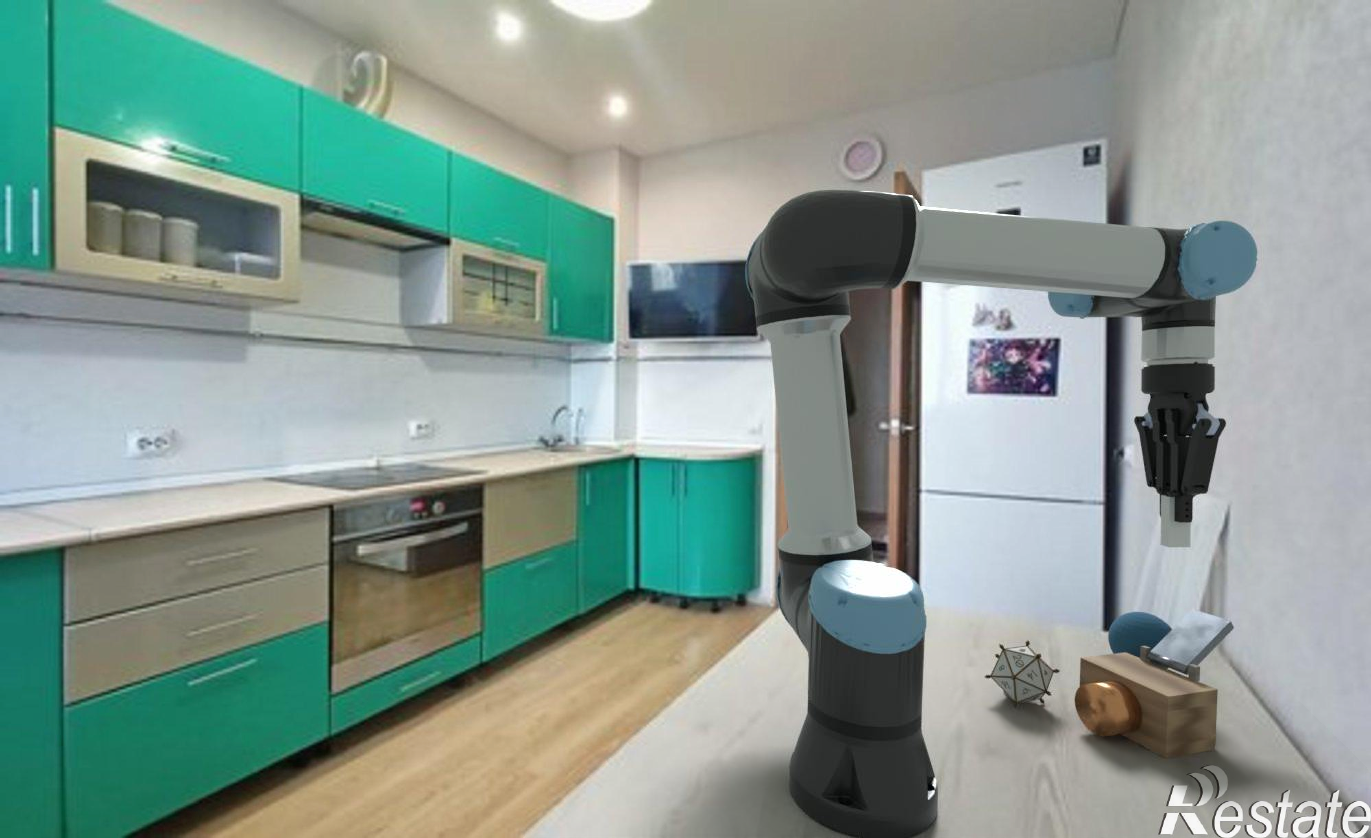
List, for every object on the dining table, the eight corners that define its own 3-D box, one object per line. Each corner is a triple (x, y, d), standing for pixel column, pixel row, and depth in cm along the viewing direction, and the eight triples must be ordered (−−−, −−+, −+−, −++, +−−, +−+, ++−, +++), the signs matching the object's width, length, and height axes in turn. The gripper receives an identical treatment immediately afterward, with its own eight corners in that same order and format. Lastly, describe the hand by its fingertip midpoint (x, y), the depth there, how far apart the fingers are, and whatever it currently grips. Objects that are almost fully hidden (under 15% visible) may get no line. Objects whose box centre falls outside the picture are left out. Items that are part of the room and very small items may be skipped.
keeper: (1186, 676, 82) (1182, 669, 82) (1150, 661, 87) (1146, 655, 87) (1234, 627, 84) (1230, 620, 84) (1196, 615, 89) (1192, 609, 89)
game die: (1035, 733, 90) (1076, 695, 84) (974, 705, 91) (1010, 666, 85) (1031, 680, 97) (1069, 641, 91) (975, 655, 98) (1008, 615, 92)
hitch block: (1165, 758, 77) (1168, 681, 77) (1078, 711, 88) (1081, 644, 88) (1217, 748, 79) (1220, 674, 79) (1126, 704, 91) (1128, 639, 90)
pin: (1116, 745, 79) (1117, 696, 78) (1073, 721, 84) (1075, 676, 84) (1212, 729, 83) (1214, 682, 83) (1166, 707, 89) (1168, 664, 89)
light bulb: (1096, 680, 99) (1099, 602, 98) (1158, 686, 97) (1161, 606, 97) (1121, 705, 90) (1124, 620, 90) (1189, 712, 89) (1193, 625, 88)
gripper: (1250, 359, 77) (1247, 557, 77) (1170, 365, 90) (1168, 535, 90) (1185, 360, 77) (1183, 558, 77) (1115, 366, 90) (1113, 535, 91)
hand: (1175, 545), depth 84 cm, fingers closed
